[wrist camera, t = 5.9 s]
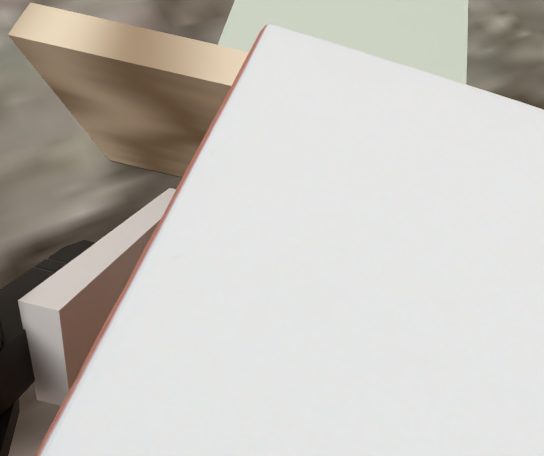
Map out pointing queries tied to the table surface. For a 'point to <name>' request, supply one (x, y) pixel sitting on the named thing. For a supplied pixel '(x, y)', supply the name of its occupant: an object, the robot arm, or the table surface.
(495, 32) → the table surface
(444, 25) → the display plate
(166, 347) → the small box
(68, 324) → the robot arm
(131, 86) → the wooden screen
